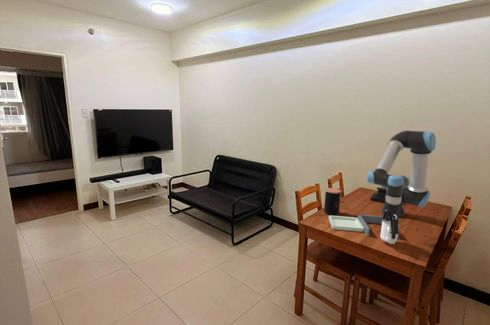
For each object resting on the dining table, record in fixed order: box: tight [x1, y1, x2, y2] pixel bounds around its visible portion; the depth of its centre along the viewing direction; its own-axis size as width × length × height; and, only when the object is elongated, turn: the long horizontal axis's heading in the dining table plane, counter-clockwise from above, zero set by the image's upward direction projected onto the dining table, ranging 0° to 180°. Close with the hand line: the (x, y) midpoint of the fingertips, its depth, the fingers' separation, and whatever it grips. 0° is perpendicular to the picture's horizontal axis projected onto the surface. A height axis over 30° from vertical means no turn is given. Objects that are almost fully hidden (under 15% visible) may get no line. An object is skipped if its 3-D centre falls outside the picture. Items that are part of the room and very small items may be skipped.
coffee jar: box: [323, 187, 342, 216], centre depth 196 cm, size 11×11×18 cm
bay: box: [357, 214, 400, 240], centre depth 171 cm, size 18×22×5 cm
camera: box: [370, 185, 387, 204], centre depth 225 cm, size 16×14×15 cm
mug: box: [380, 220, 400, 243], centre depth 151 cm, size 9×12×11 cm
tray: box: [328, 215, 365, 233], centre depth 177 cm, size 19×17×2 cm
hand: (387, 238), depth 152 cm, fingers closed on mug, 11 cm apart
